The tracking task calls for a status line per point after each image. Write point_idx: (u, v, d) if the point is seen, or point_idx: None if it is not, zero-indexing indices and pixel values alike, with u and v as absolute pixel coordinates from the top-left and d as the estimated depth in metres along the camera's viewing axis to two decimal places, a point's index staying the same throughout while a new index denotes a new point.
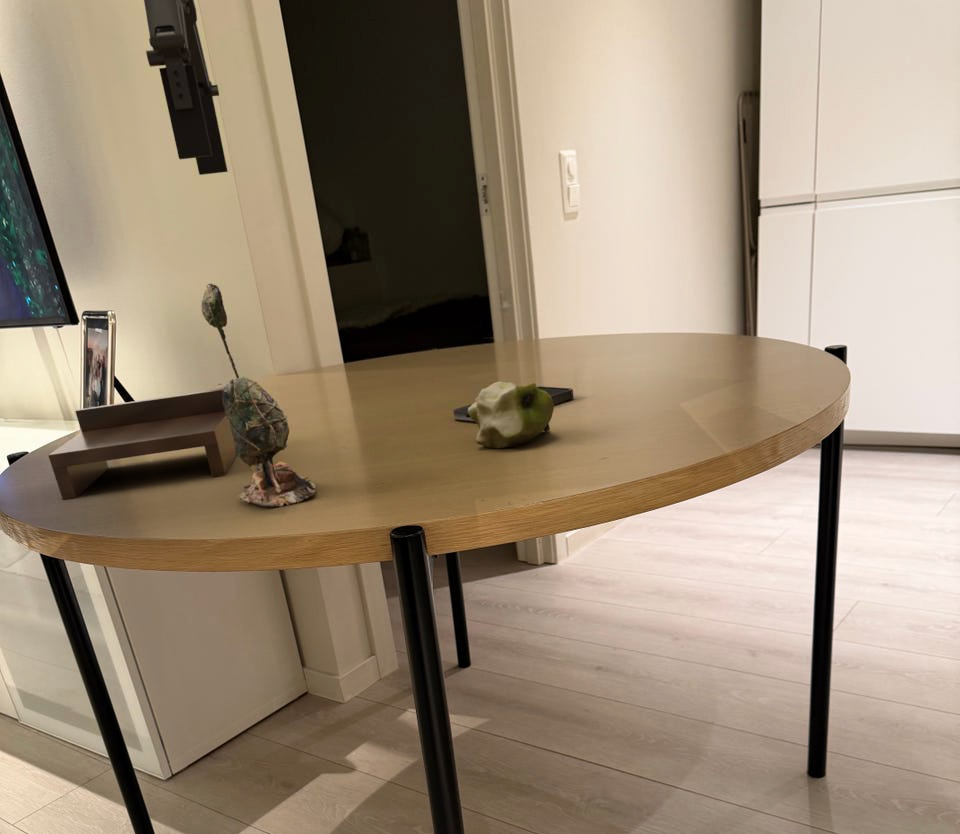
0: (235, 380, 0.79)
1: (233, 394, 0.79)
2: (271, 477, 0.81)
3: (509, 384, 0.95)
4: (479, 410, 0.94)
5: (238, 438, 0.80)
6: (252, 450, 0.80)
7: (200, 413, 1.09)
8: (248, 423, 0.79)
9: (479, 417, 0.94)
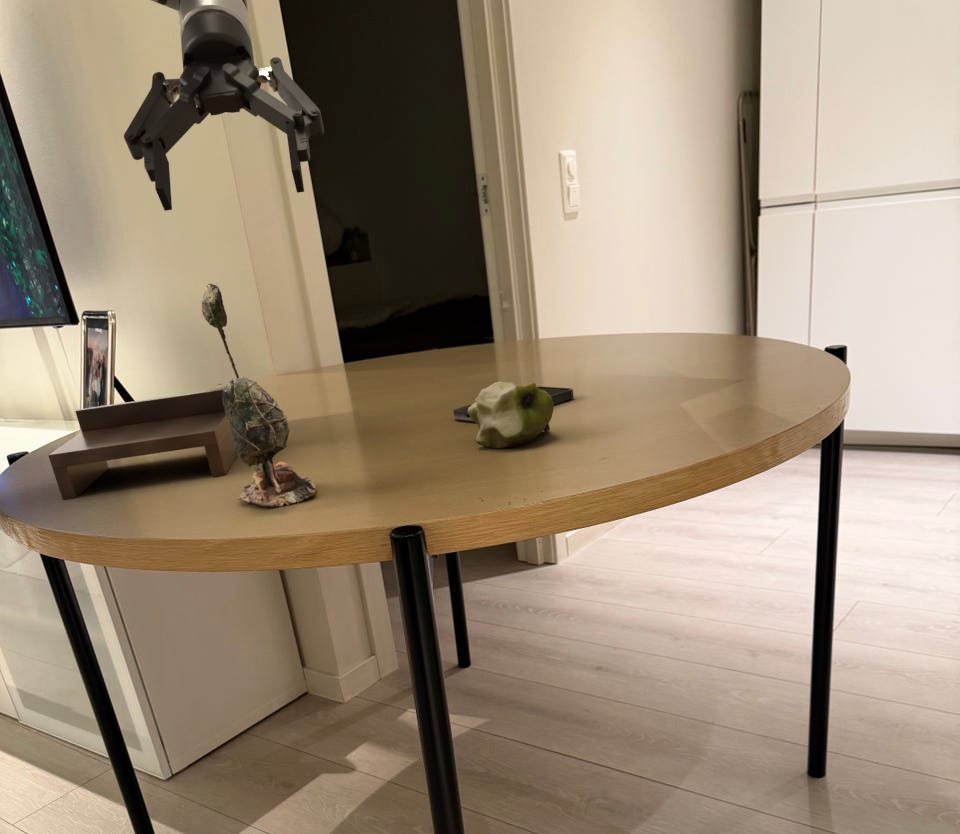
0: (235, 380, 0.79)
1: (233, 394, 0.79)
2: (271, 477, 0.81)
3: (509, 384, 0.95)
4: (479, 410, 0.94)
5: (238, 438, 0.80)
6: (252, 450, 0.80)
7: (200, 413, 1.09)
8: (248, 423, 0.79)
9: (479, 417, 0.94)
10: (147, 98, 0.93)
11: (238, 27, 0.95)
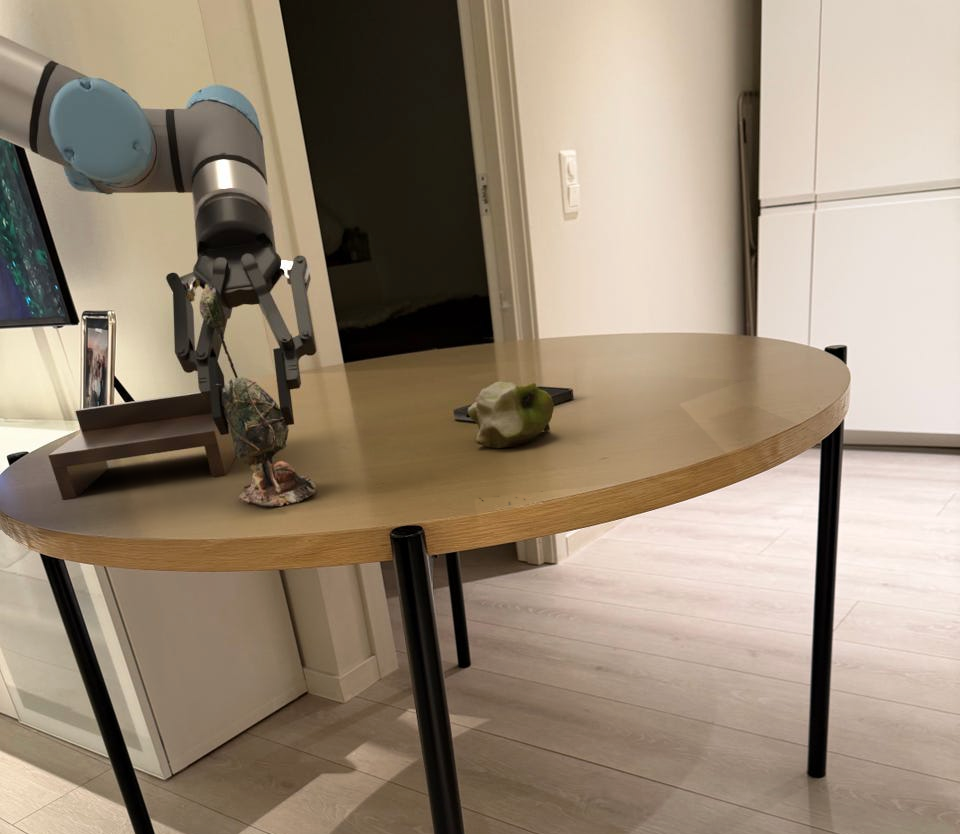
0: (234, 380, 0.79)
1: (232, 394, 0.79)
2: (271, 477, 0.81)
3: (509, 384, 0.95)
4: (479, 410, 0.94)
5: (237, 438, 0.80)
6: (252, 450, 0.80)
7: (200, 413, 1.09)
8: (248, 423, 0.79)
9: (479, 417, 0.94)
10: (175, 305, 0.83)
11: (259, 211, 0.86)
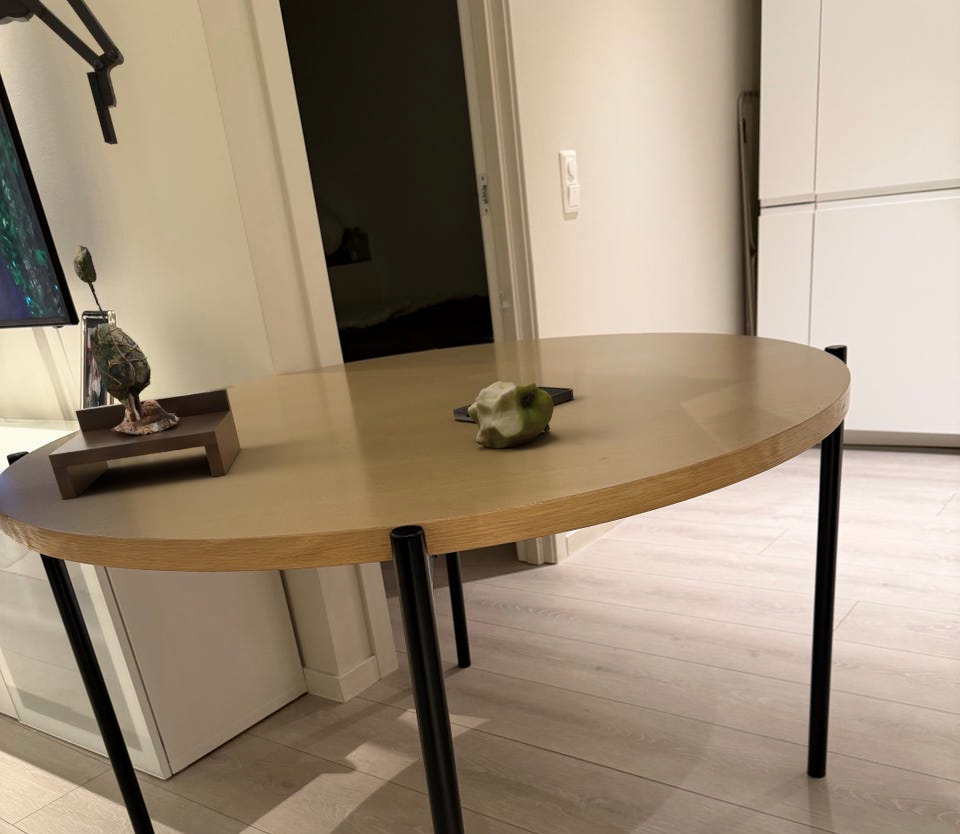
0: (99, 325, 0.95)
1: (97, 337, 0.95)
2: (132, 407, 0.97)
3: (509, 384, 0.95)
4: (479, 410, 0.94)
5: (103, 374, 0.96)
6: (115, 384, 0.96)
7: (200, 413, 1.09)
8: (111, 361, 0.95)
9: (479, 417, 0.94)
10: None
11: None
